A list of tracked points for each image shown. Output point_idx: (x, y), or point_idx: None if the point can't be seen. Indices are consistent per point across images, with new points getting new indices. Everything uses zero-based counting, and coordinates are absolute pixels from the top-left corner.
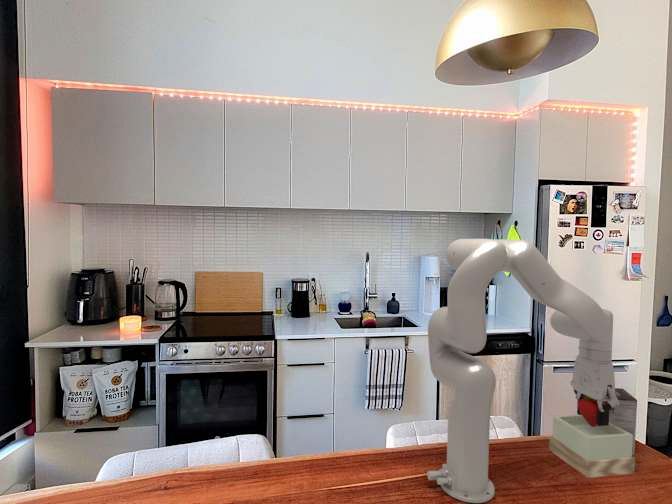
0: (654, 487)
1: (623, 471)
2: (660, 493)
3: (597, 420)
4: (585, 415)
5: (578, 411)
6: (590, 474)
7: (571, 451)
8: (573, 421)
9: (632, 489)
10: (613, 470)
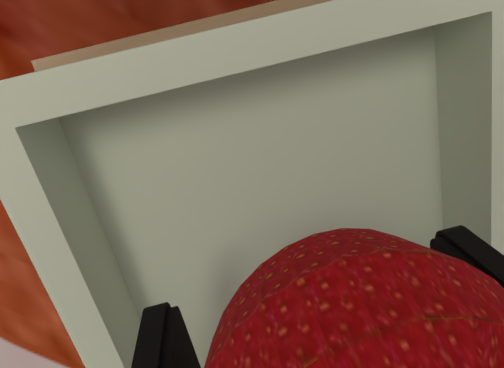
0: (54, 326)
1: None
2: (7, 324)
3: (150, 341)
4: (269, 258)
5: (461, 246)
6: None
7: (191, 21)
8: (458, 180)
9: (6, 229)
10: None
